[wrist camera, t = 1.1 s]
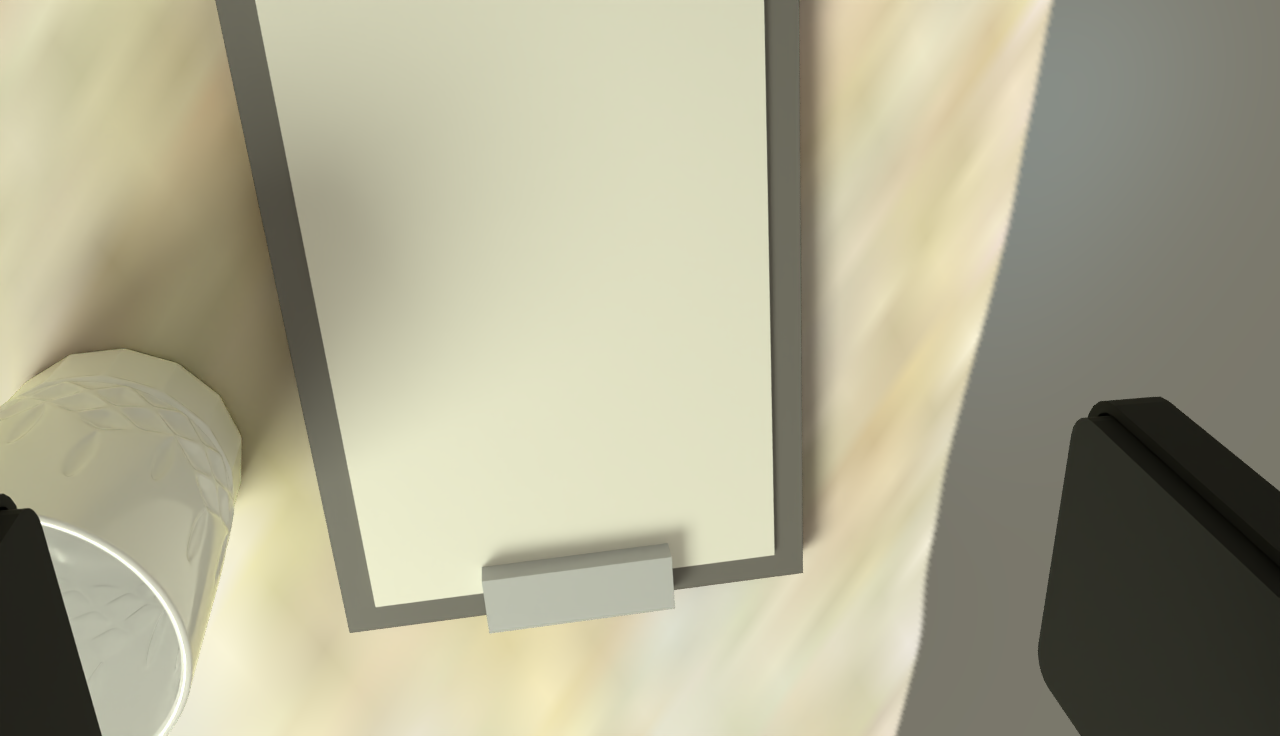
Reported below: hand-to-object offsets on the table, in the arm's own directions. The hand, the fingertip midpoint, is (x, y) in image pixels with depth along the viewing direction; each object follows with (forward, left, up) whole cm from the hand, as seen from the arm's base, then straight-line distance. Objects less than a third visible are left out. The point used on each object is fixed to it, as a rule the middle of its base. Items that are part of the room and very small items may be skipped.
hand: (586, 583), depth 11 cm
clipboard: (+6, 0, -24) cm, 24 cm away
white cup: (+10, -13, -24) cm, 29 cm away
